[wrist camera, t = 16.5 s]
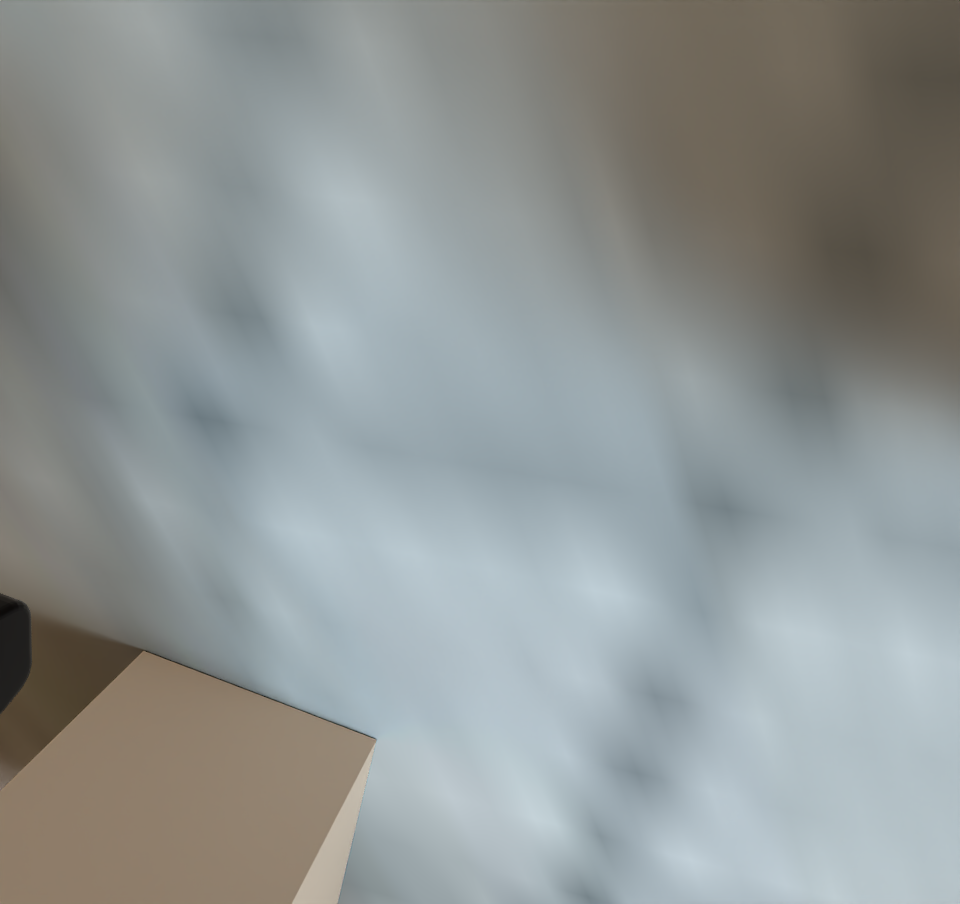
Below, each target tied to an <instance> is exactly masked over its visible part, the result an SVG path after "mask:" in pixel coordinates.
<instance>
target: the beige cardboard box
mask: <svg viewBox="0 0 960 904" xmlns="http://www.w3.org/2000/svg"><path fill="white" fill-rule="evenodd" d="M375 744H376V739H373V738H370V737H368V736H365V735H363V734H360V733H357V732H355V731H352V730H350V729H347V728H344V727H342V726H339V725H336V724H334V723H331V722H329V721H326V720H323V719H321V718H318V717H316V716H313V715H310V714H308V713H305V712H302V711H300V710H297V709H295V708H292V707H289V706H287V705H284V704H282V703H279V702H276V701H274V700H271V699H268V698H266V697H263V696H261V695H258V694H255V693H253V692H250V691H248V690H245V689H242V688H240V687H237V686H234V685H232V684H229V683H227V682H224V681H221V680H219V679H216V678H214V677H211V676H208V675H206V674H203V673H200V672H198V671H195V670H193V669H190V668H187V667H185V666H182V665H180V664H177V663H174V662H172V661H169V660H166V659H164V658H161V657H159V656H156V655H153V654H151V653H148V652H146V651H143V652H142V653H141V654H140V655H139V656H138V657H137V658H136V659H135V660H134V661H133V662H132V663H131V664H130V665H129V666H128V667H127V668H125V669H124V670H123V671H122V672H121V673H120V674H119V675H118V676H117V677H116V678H115V679H114V680H113V681H112V682H111V683H110V684H109V685H108V686H107V687H106V688H105V689H104V690H103V691H102V692H101V693H100V694H99V695H98V696H97V697H96V698H95V699H94V700H93V701H92V702H91V703H90V704H89V705H88V706H87V707H86V708H85V709H84V710H82V711H81V712H80V713H79V714H78V715H77V716H76V717H75V718H74V719H73V720H72V721H71V722H70V723H69V724H68V725H67V726H66V727H65V728H64V729H63V730H62V731H61V732H60V733H59V734H58V735H57V736H56V737H55V738H54V739H53V740H52V741H51V742H50V743H49V744H48V745H47V746H46V747H45V748H44V749H43V750H42V751H41V752H40V753H38V754H37V755H36V756H35V757H34V758H33V759H32V760H31V761H30V762H29V763H28V764H27V765H26V766H25V767H24V768H23V769H22V770H21V771H20V772H19V773H18V774H17V775H16V776H15V777H14V778H13V779H12V780H11V781H10V782H9V783H8V784H7V785H6V786H5V787H4V788H3V789H2V790H1V791H0V904H337V903H338V899H339V895H340V891H341V886H342V882H343V878H344V874H345V870H346V865H347V861H348V857H349V853H350V849H351V845H352V840H353V836H354V832H355V828H356V824H357V819H358V815H359V811H360V807H361V803H362V799H363V794H364V790H365V786H366V782H367V778H368V774H369V769H370V765H371V761H372V757H373V753H374V748H375Z"/></svg>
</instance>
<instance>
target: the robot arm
mask: <svg viewBox="0 0 960 904" xmlns="http://www.w3.org/2000/svg"><path fill="white" fill-rule="evenodd" d="M31 664H32V648H31V613H30V610H29V608H28V606H27V605H26V604H25V603H24V602H22V601H19V600H17V599H14V598H11V597H9V596H6V595H3V594H1V593H0V714H1V713H2V712H3V711H4V709H5V708H6V707H7V706H8V704H9V703H10V702H11V701H12V700H13V698H14V697H15V696H16V695H17V693H18V692H19V691H20V690H21V688H22V687H23V685H24V683H25V682H26V680H27V678H28V675H29V673H30V669H31Z"/></svg>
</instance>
